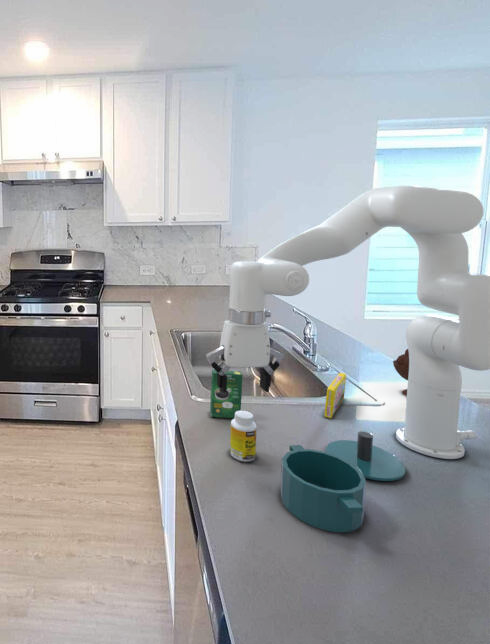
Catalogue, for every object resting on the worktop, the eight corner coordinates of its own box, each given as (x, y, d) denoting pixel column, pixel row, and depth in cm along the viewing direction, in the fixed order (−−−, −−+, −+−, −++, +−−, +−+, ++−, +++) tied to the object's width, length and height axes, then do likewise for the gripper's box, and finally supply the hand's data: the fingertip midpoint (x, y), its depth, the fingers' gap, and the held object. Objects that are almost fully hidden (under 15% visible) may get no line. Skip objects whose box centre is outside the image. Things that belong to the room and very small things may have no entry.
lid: (371, 443, 99) (373, 417, 98) (423, 482, 84) (426, 452, 83) (312, 445, 98) (313, 419, 98) (353, 485, 84) (355, 454, 83)
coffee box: (239, 414, 114) (240, 370, 113) (241, 419, 112) (242, 373, 110) (210, 413, 116) (210, 368, 114) (211, 417, 113) (211, 372, 112)
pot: (324, 473, 88) (326, 440, 87) (393, 543, 69) (396, 502, 68) (262, 475, 87) (263, 443, 86) (314, 546, 68) (316, 505, 68)
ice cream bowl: (383, 386, 131) (386, 341, 129) (421, 388, 129) (425, 342, 128) (404, 401, 120) (408, 352, 119) (446, 403, 119) (450, 353, 117)
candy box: (332, 419, 111) (334, 390, 110) (323, 417, 112) (325, 388, 111) (345, 399, 123) (346, 373, 122) (336, 397, 124) (338, 371, 123)
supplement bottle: (245, 465, 91) (247, 422, 90) (225, 454, 96) (225, 412, 94) (260, 457, 94) (262, 415, 93) (239, 446, 99) (240, 406, 97)
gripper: (276, 312, 95) (272, 382, 97) (202, 313, 94) (200, 383, 96) (293, 320, 87) (289, 396, 89) (213, 321, 87) (211, 397, 89)
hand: (243, 389), depth 93 cm, fingers open, 9 cm apart
